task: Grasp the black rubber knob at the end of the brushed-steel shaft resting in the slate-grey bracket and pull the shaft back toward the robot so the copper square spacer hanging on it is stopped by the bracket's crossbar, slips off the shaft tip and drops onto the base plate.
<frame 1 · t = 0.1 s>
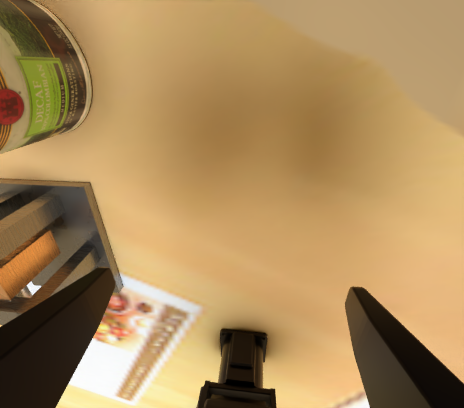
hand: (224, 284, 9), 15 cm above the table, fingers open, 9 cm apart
bracket: (63, 244, 30), on the table
spacer: (31, 239, 26), point 3 cm above the table, touching shaft
coffee can: (33, 70, 21), on the table
shaft: (18, 299, 24), point 7 cm above the table, slide at 0.0 cm, touching spacer
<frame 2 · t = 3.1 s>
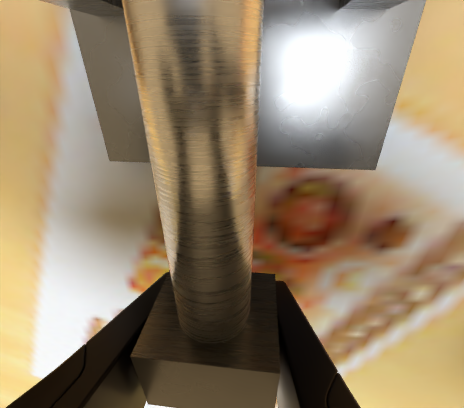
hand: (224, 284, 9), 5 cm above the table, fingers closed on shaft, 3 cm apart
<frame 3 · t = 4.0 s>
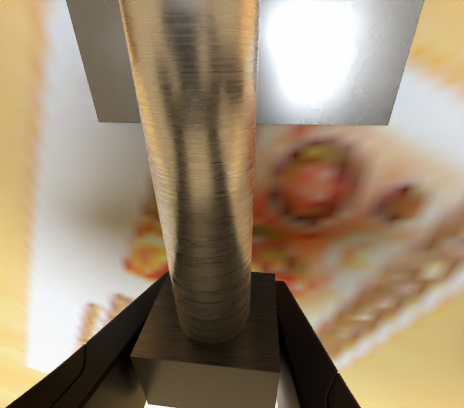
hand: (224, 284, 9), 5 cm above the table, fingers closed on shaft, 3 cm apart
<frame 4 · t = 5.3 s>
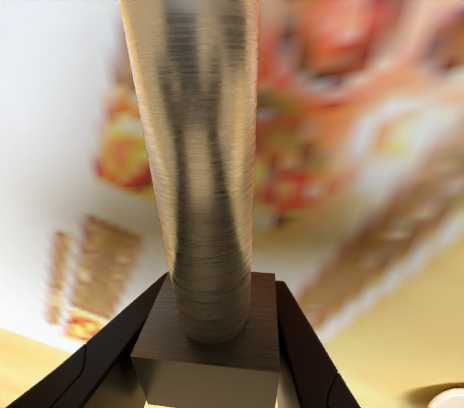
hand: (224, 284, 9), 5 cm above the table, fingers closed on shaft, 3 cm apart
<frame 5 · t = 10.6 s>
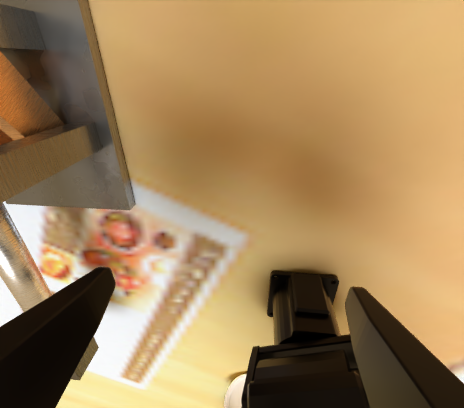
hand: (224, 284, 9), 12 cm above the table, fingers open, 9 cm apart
bracket: (47, 131, 20), on the table
spread jar: (254, 390, 37), on the table
spacer: (27, 143, 18), point 2 cm above the table, tilted 57°, touching bracket
shaft: (31, 292, 19), point 7 cm above the table, slide at 9.5 cm
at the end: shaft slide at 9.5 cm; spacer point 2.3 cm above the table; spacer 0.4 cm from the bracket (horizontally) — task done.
